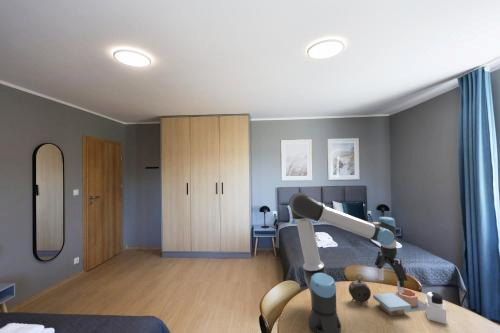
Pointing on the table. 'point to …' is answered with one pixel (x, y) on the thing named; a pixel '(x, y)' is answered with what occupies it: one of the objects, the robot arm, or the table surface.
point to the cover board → (391, 301)
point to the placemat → (419, 308)
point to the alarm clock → (359, 291)
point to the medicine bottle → (435, 308)
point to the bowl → (408, 297)
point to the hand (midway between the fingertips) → (390, 286)
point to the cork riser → (392, 311)
